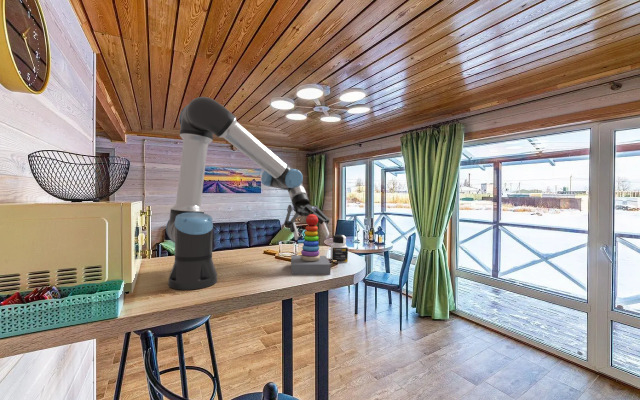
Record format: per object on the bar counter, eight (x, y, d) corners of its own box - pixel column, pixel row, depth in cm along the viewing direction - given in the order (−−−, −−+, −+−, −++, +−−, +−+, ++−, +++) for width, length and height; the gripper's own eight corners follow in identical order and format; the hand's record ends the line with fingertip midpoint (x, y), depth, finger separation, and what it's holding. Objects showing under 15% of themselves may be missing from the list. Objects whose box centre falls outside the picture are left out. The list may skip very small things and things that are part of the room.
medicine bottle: (332, 262, 132) (332, 236, 132) (330, 258, 139) (331, 233, 139) (347, 262, 133) (348, 236, 133) (345, 258, 140) (345, 234, 140)
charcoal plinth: (291, 274, 111) (291, 264, 111) (290, 264, 126) (291, 255, 126) (330, 274, 113) (330, 264, 113) (325, 264, 128) (325, 255, 128)
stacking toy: (319, 262, 116) (321, 215, 115) (299, 261, 116) (301, 214, 115) (320, 257, 123) (321, 213, 123) (301, 257, 124) (302, 213, 123)
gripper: (321, 204, 138) (336, 241, 125) (270, 204, 127) (281, 244, 114) (326, 193, 133) (342, 230, 120) (274, 192, 122) (286, 232, 109)
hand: (312, 237), depth 117 cm, fingers open, 13 cm apart
